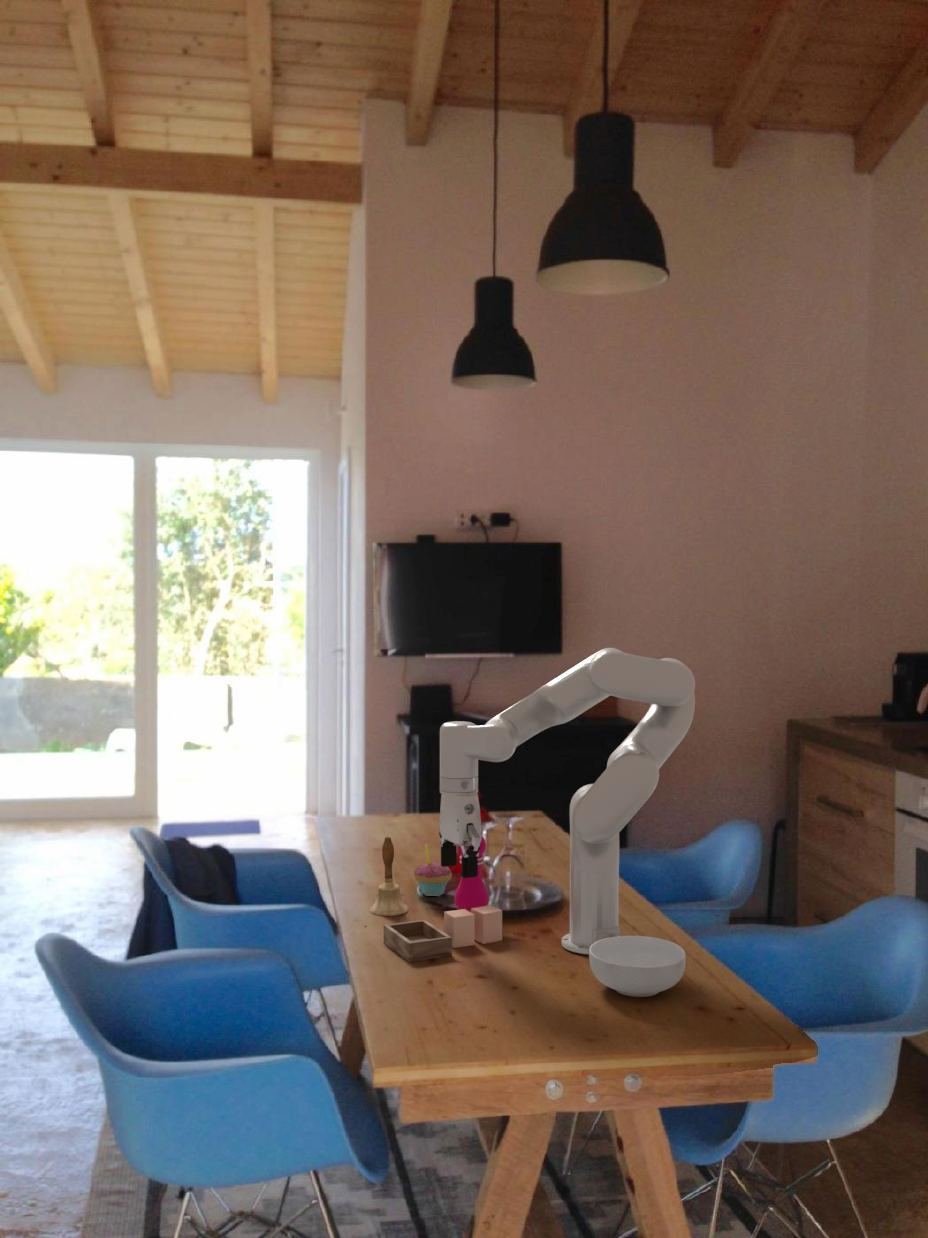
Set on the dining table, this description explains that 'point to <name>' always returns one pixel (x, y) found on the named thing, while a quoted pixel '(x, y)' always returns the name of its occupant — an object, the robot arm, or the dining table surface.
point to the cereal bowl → (637, 964)
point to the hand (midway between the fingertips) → (458, 871)
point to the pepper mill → (472, 886)
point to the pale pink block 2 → (487, 924)
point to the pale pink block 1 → (460, 927)
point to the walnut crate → (417, 940)
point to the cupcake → (432, 876)
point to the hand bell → (388, 887)
